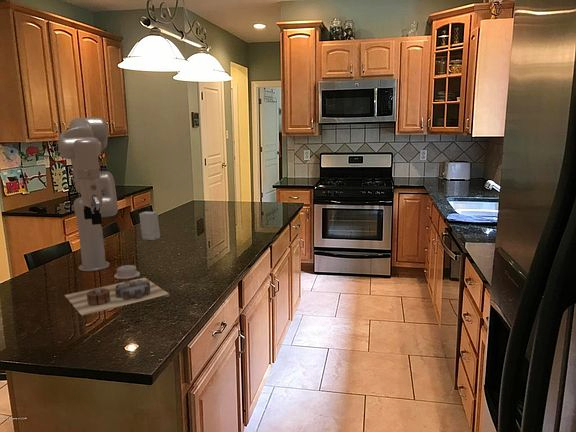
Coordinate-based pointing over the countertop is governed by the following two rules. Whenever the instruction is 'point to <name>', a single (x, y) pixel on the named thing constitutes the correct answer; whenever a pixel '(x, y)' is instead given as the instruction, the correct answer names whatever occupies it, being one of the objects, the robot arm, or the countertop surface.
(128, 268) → the mechanical component
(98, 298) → the walnut gear
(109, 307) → the gear board
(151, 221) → the skincare box
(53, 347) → the countertop surface
